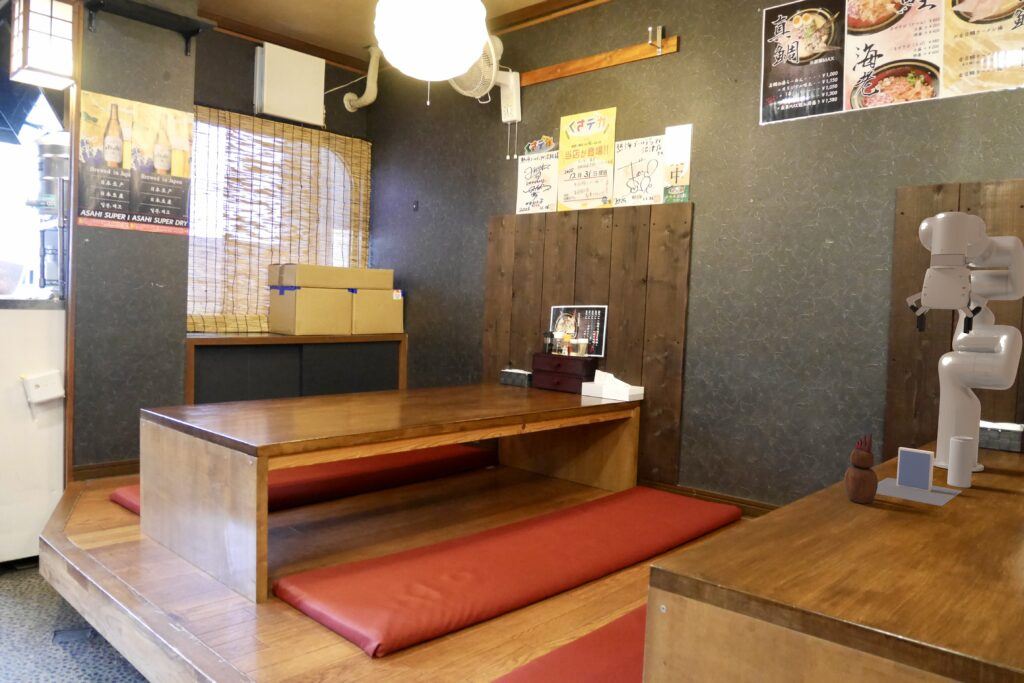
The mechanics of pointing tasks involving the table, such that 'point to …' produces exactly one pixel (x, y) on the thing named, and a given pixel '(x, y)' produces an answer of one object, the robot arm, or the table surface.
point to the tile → (915, 469)
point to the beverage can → (960, 461)
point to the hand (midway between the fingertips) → (943, 332)
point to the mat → (916, 493)
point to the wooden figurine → (861, 473)
